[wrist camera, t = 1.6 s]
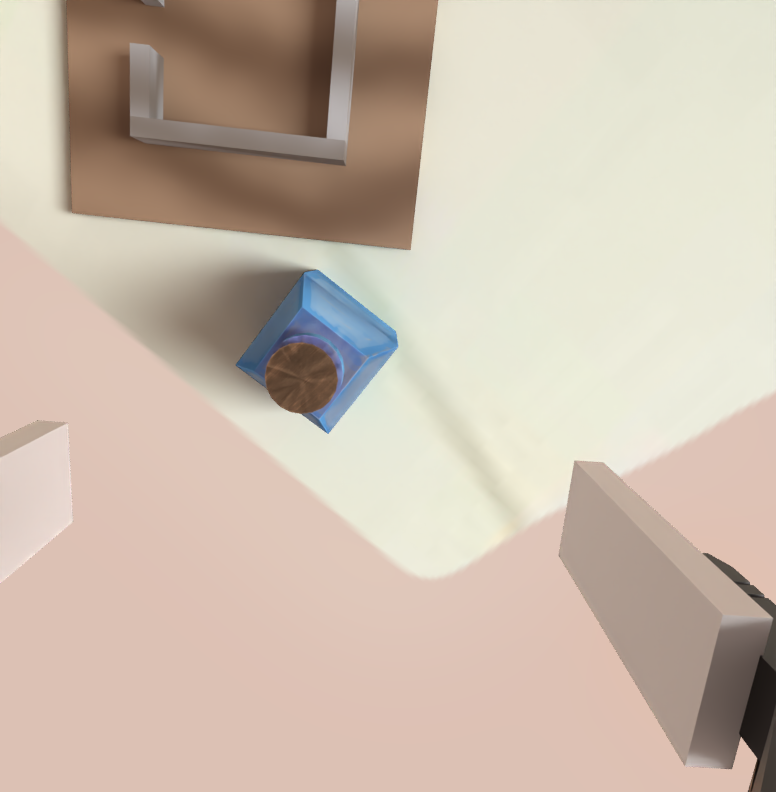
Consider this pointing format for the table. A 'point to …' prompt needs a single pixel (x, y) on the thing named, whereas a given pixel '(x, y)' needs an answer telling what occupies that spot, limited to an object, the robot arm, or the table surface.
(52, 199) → the table surface
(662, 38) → the table surface
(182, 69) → the pocket board
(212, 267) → the table surface
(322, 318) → the perfume bottle
